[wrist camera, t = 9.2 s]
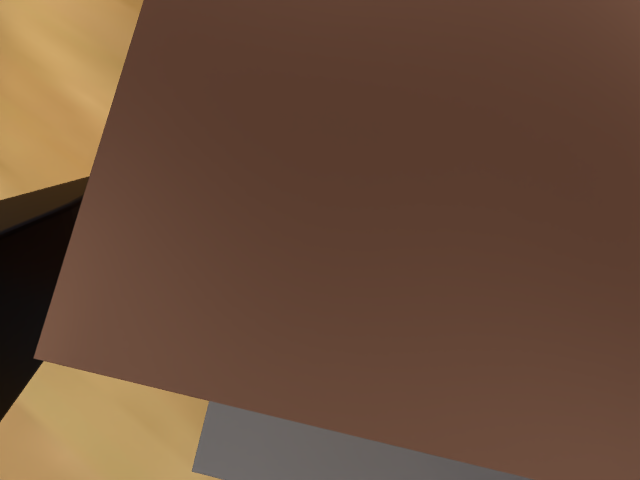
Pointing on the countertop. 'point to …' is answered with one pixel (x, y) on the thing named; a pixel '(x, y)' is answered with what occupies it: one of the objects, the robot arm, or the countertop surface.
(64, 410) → the countertop surface
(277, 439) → the holder block
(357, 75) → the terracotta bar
